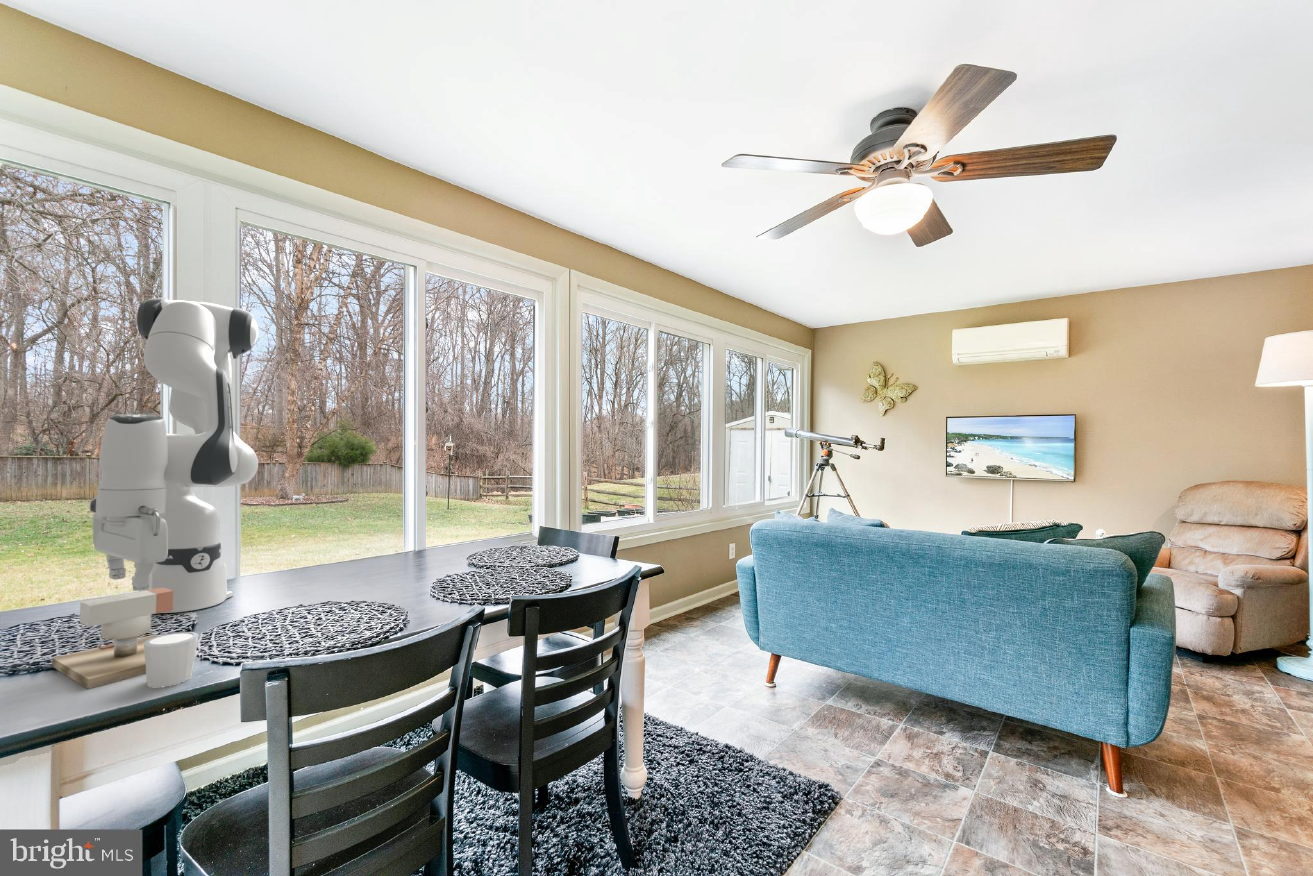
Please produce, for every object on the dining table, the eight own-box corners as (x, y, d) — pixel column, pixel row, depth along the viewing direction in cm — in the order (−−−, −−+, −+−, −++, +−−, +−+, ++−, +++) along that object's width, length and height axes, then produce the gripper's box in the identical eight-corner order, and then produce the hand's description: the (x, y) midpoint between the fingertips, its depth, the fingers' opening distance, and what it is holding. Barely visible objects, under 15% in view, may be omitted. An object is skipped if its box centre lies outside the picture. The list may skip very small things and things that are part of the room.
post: (110, 655, 97) (111, 635, 97) (132, 650, 100) (133, 630, 100) (117, 659, 95) (118, 638, 96) (140, 653, 98) (140, 633, 98)
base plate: (51, 666, 95) (52, 656, 95) (154, 642, 107) (155, 633, 107) (88, 688, 88) (88, 678, 88) (194, 659, 100) (195, 650, 100)
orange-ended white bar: (76, 638, 94) (77, 600, 94) (158, 621, 104) (160, 586, 104) (90, 646, 91) (92, 606, 91) (174, 627, 101) (176, 591, 101)
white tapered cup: (131, 691, 87) (133, 647, 87) (157, 673, 94) (159, 632, 94) (182, 687, 89) (184, 644, 89) (205, 670, 96) (206, 630, 96)
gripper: (181, 507, 96) (178, 587, 95) (131, 499, 105) (127, 571, 105) (134, 510, 90) (130, 595, 90) (85, 501, 100) (81, 578, 99)
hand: (128, 582), depth 98 cm, fingers open, 8 cm apart
